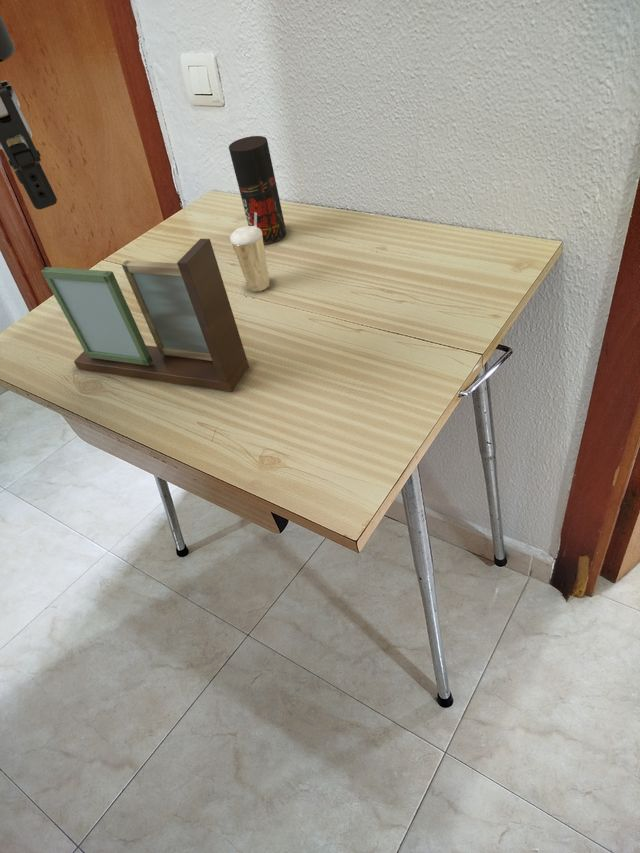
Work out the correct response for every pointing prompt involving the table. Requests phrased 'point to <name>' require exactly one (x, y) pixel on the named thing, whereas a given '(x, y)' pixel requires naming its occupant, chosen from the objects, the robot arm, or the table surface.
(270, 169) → the deodorant
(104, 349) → the panel
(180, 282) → the window frame
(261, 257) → the milkshake
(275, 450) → the table surface
